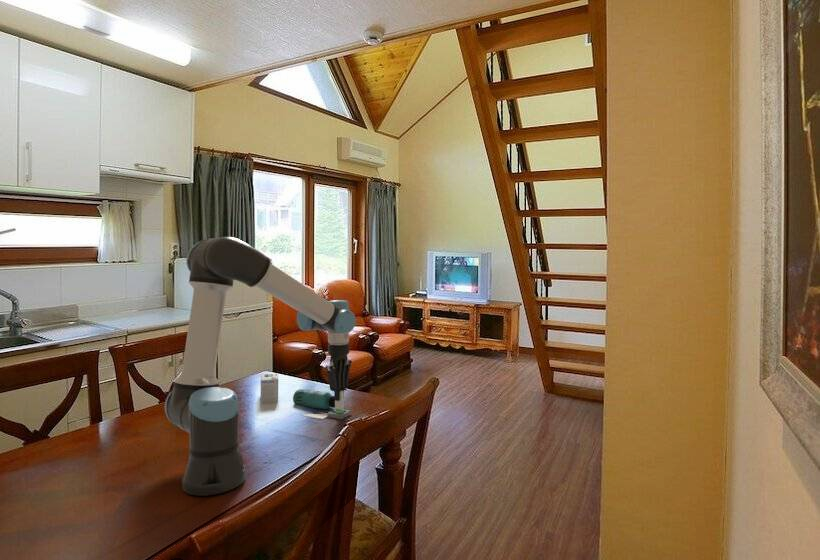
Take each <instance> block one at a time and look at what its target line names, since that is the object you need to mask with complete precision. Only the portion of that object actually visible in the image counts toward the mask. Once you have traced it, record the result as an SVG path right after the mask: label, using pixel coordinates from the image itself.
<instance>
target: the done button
mask: <svg viewBox="0 0 820 560" xmlns="http://www.w3.org/2000/svg"><path fill="white" fill-rule="evenodd" d="M333 410H334V413H337V414H342V413H344V410H345V408H344V409H342V410H338V409H335V408H334V409H333Z"/></svg>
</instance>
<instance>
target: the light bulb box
mask: <svg viewBox="0 0 820 560" xmlns="http://www.w3.org/2000/svg"><path fill="white" fill-rule="evenodd" d="M278 402H279V375H278V373H267V374H263V373H262V374H261V375H260V404H271V403H272V404H276V403H278Z"/></svg>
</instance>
